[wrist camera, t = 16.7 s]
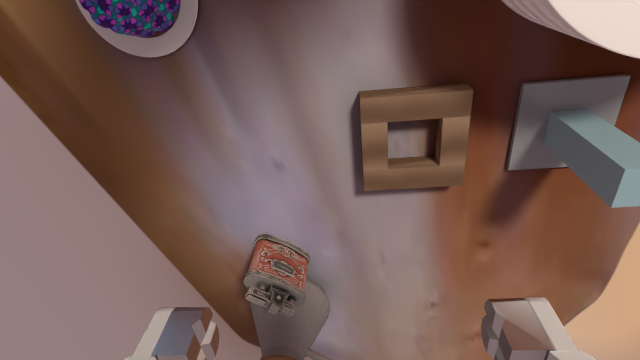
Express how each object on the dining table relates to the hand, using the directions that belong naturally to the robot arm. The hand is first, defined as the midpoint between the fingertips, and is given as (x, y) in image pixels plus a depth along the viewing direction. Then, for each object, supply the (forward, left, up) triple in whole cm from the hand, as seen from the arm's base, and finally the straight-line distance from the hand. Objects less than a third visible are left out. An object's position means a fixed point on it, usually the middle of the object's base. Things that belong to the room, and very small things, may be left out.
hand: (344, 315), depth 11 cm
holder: (+9, +7, -31) cm, 33 cm away
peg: (+9, +23, -30) cm, 39 cm away
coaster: (+9, +23, -31) cm, 40 cm away
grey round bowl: (-8, -19, -32) cm, 38 cm away
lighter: (+25, -10, -31) cm, 41 cm away
